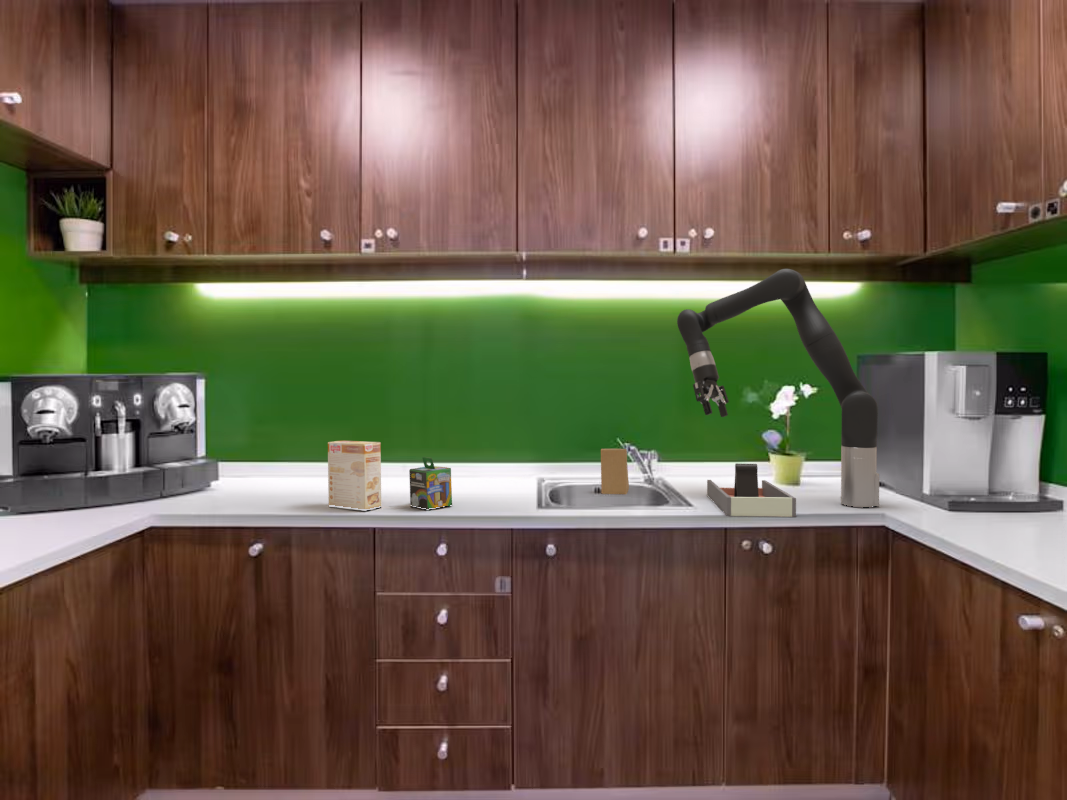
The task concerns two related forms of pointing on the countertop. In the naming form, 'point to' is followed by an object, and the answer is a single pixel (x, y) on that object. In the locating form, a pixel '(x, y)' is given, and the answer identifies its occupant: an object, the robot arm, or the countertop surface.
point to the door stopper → (746, 480)
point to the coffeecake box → (354, 474)
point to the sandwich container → (614, 471)
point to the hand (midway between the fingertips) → (716, 415)
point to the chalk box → (430, 486)
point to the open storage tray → (753, 501)
